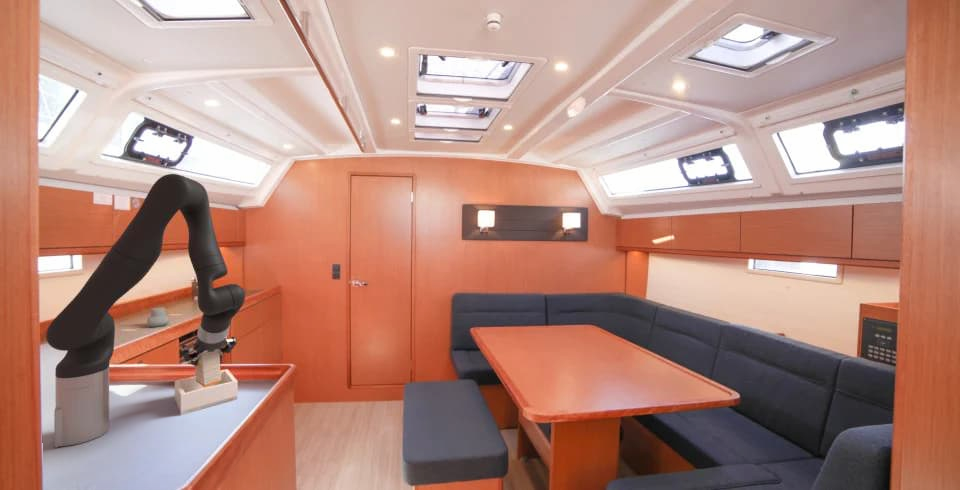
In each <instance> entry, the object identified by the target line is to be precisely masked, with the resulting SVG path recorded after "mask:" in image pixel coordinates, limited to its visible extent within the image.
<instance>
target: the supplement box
mask: <svg viewBox="0 0 960 490" xmlns="http://www.w3.org/2000/svg"><path fill="white" fill-rule="evenodd" d="M195 342H196V341H195ZM195 342H193V344H194V343H195ZM194 351H195V350H194V349H193V352H194ZM194 370H195V373H196V382H198V383H199V384H201V385H202V386H203V387H207V386H210V385H213V384H216V383H219V382H221V374H220V371H221V359H220V358H219V354H217V353H216V352H215V351H214V352H207V353H205V354H204V355H203V356H202V357H199V358H198V362H197V366H194Z"/></svg>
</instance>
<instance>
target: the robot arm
mask: <svg viewBox="0 0 960 490" xmlns="http://www.w3.org/2000/svg"><path fill="white" fill-rule="evenodd" d="M204 186H205V185H202V183H200V182H198V181H197V180H194V179H191V178H189V177H185V176H184V175H180V174H177V173H167V174H165V175H162V176H161V177H159V178H158V179H157V180H156V181H155V182H154V183H153V184H152V186H151V187H150V189H149V191H148V193H147V195H146V197H145V198H144V199H143V202H142V204H141V205H140V207H139V209H138V210H137V213H136V214H135V215H134V217H133V218H132V219H131V221H130V222H129V224H128V225H127V226H126V228H125V229H124V231H123V232H122V234H121V235H120V236H119V238H118V239H117V240H116V241H115V243H113V245H112V246H111V248H110V249H109V250H108V252H107V253H106V255H105V256H104V257H103V259H102V260H101V261H100V263H99V264H98V266H97V267H96V269H95V270H94V271H93V272H92V274H91V275H90V276H89V278H88V279H87V281H86V282H85V283H84V285H83V286H82V288H81V289H80V290H79V292H78V293H77V294H76V295H75V296H74V297H73V299H72V300H71V301H70V302H69V303H68V304H67V305H66V306H65V307H64V308H63V310H61V311H60V312H59V313H58V314H57V316H56V317H55V318H54V319H53V320H52V321H51V322H50V324H49V325H48V326H47V329H46V332H45V338H46V342H47V344H48V345H49V346H50V347H51V348H53V349H54V350H57V351H66V353H65V355H64V357H63V358H62V359H61V360H60V361H59V363H57V365H56V366H55V373H54V374H55V408H54V412H53V413H54V419H53V420H54V421H53V422H54V430H53V431H54V448H59V446H60V447H67V446H73V445H79V444H83V443H86V442H89V441H92V440H95V439H96V438H99V437H101V436H102V435H104V434H106V433H107V432H108V431H109V430H110V421H111V420H110V360H111V358H112V357H113V355H114V349H115V338H116V337H115V335H116V333H115V332H116V328H115V327H116V326H115V325H116V324H115V320H114V318H113V316H112V315H111V314H110V312H109V310H111V308H112V307H113V305H115V303H117V302H118V301H119V300H120V299H121V298H122V297H124V295H125V294H126V295H127V293H128V292H129V291H131V290H132V289H133V288H134V287H135V286H137V285H138V284H139V283H140V282H141V281H142V280H143V279H144V277H145V276H146V275H147V274H148V273H149V272H150V271H151V269H152V268H153V266H154V265H155V264H156V262H157V260H158V259H159V258H160V255H161V253H162V249H163V242H164V241H163V240H164V233H165V230H166V228H167V226H168V224H169V223H170V221H171V220H172V219H173V218H174V217H175V215H176V214H177V212H178V211H180V213H181V214H182V216H183V217H184V220H185V222H186V225H187V226H186V227H187V230H188V241H187V242H188V243H187V244H188V245H187V249H188V250H187V251H188V257H189V259H190V262H191V266H192V268H193V271H194V273H195V276H196V277H195V278H196V281H197V283H196V284H197V306H198V309H199V311H200V312H201V313H202V317H201V320H200V321H201V322H200V324H199V326H198V330H197V334H196V338H195V343H194V342H193V344H192V345H189V346H188V345H186V344H184V345H182V346H181V354H182V357H183V359H184V362H190V365H191V366H193V367H195V366H197V362H198V358H199V357H202V356H203V355H204V354H205V353H207V352H214V351H215V352H216V353H217V354H219V358H220V360H221V359H222V358H223V356H224V354H230V353H231V352H232V350H233V349H234V348H235V347H236V346H237V344H238V343H237V338H236V336H231V337H230V338H229V339H228V337H229V333H230V328H231V323H232V319H233V318H234V317H235V316H236V314H237V313H238V312H239V311H240V310H241V308H243V305H244V303H245V300H246V293H245V290H244V288H243V287H242V286H241V285H239V284H237V283H229V284H226V285H225V284H224V285H221V286H217V287H213V283H214V282H215V281H216V280H217V281H218V280H220V279H221V278H222V279H223V278H224V277H225V276H227V275H228V268H227V264H226V262H225V260H224V257H223V253H222V252H221V248H220V246H219V243H218V239H217V236H216V233H215V229H214V228H215V227H214V223H213V218H212V213H211V208H210V207H211V206H210V200H209V195H208V192H207V189H206V188H205V187H204ZM194 350H195V351H194ZM191 352H192V353H191Z"/></svg>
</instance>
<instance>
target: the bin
mask: <svg viewBox="0 0 960 490" xmlns="http://www.w3.org/2000/svg"><path fill="white" fill-rule="evenodd" d="M220 374H221V382H219V383H216V384H213V385H210V386H207V387H203V386H202V385H201V384H199V383H198V382H196V376H190V377H186V378H182V379H177V380H174V402H175V404H176V406H177V409H178V412H179V415H181V416H182V415H186V414H190V413H193V412H196V411H201V410H204V409H207V408H211V407H214V406H218V405H221V404H225V403H228V402H229V403H230V402H232V401H235V400H236V401H237V400H238V391H239V390H238V386H239V385H238V384H239V381H238V380H237V378H236V377H235V376H234V375H233V373H232V372H231V371H230V370H229V369H228V368H226V369H220Z"/></svg>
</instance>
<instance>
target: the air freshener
mask: <svg viewBox="0 0 960 490" xmlns="http://www.w3.org/2000/svg"><path fill="white" fill-rule="evenodd" d="M150 311H151V312H150V313H151V314H150V316H149V317H147V326H148V327H150V328H159V326H160V327H163V326H164V325H165V326H167V325H169V324H170V317H169V315H167V314H166V307H164V306H163V307H162V306H161V307H153V308H151V310H150Z"/></svg>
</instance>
